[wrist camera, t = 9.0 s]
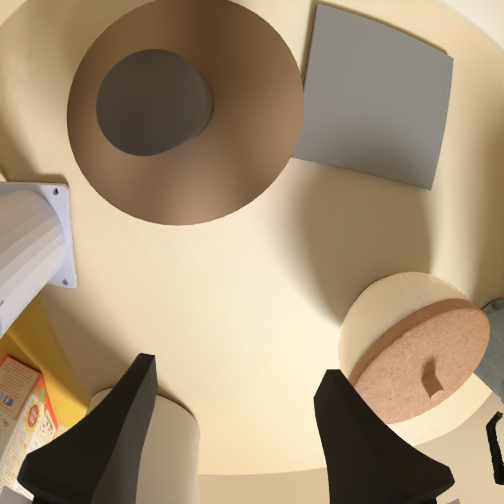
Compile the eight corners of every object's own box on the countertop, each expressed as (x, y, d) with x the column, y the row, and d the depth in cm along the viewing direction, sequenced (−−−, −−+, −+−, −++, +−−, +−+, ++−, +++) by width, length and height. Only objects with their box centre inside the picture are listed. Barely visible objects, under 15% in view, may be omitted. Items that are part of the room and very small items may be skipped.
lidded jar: (308, 275, 21) (348, 377, 12) (438, 229, 19) (519, 295, 11) (333, 370, 25) (359, 458, 17) (435, 330, 24) (483, 400, 15)
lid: (72, 208, 13) (18, 247, 9) (94, 7, 9) (42, -23, 4) (276, 233, 14) (293, 287, 10) (316, 19, 10) (353, -22, 6)
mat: (291, 156, 17) (292, 157, 17) (316, 6, 13) (317, 3, 12) (426, 188, 18) (430, 190, 18) (449, 58, 14) (453, 58, 13)
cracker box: (4, 351, 24) (-69, 488, 5) (44, 372, 25) (-20, 527, 6) (25, 411, 29) (-17, 519, 10) (59, 427, 30) (23, 543, 11)
